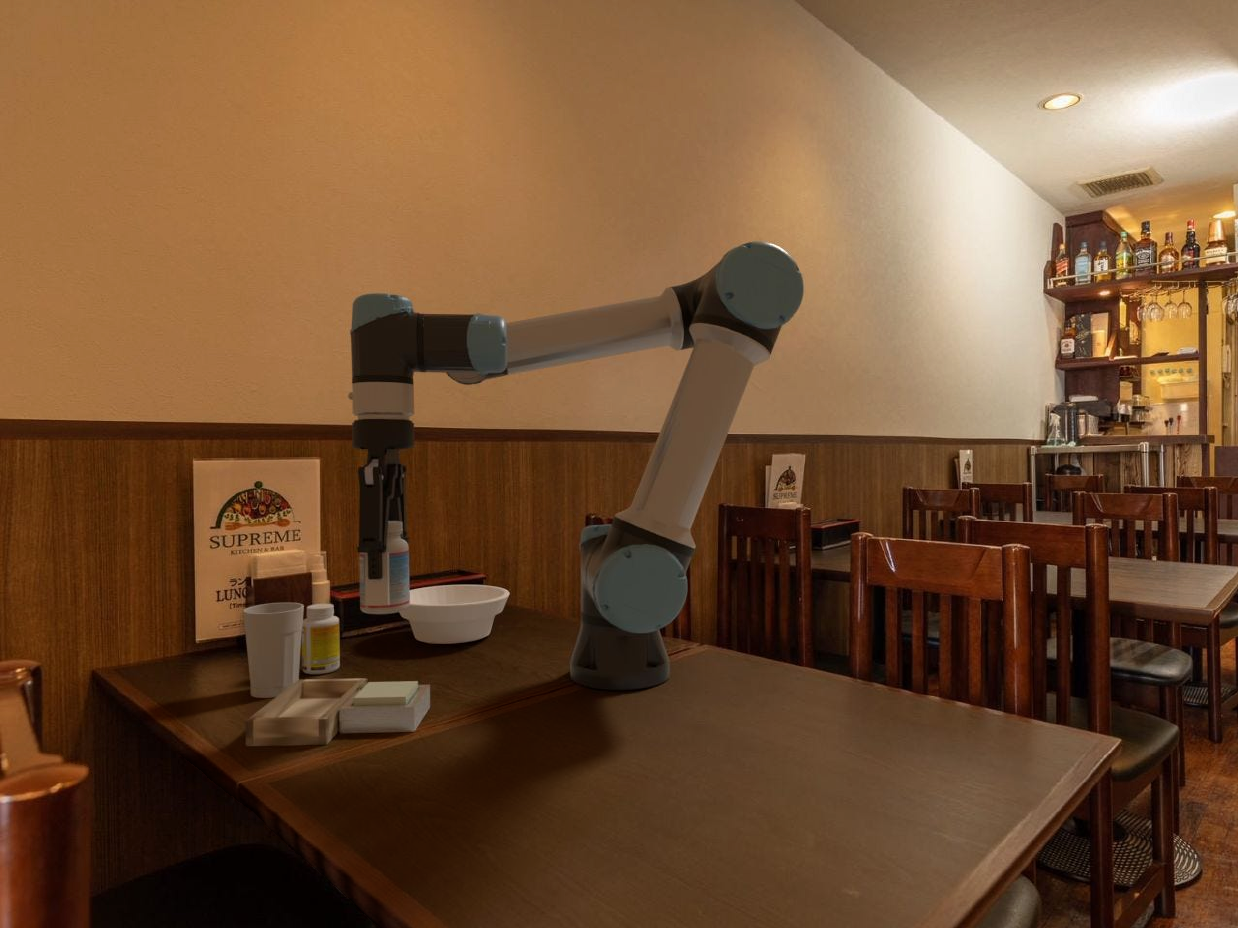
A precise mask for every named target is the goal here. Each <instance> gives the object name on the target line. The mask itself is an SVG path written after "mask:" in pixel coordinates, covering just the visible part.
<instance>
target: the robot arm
mask: <svg viewBox="0 0 1238 928" xmlns="http://www.w3.org/2000/svg"><path fill="white" fill-rule="evenodd" d="M803 278H804V277H803V274H802V272H801V270H800V268H799V266H798V264H797V262H796V261H795V259H794V258H793V257H792V255H790V254H789V253H788V252H787V251H786V250H785V249H783V248H782V247H780V246H778V245H776V244H774V243H771V242H767V241H761V240H757V241H748V242H745V243H742V244H739V245H738V246H735V247H733V248H732V249H730V250H728V251H727V252H726V253H724V255H723V256H722V258H721V259H720V260H719V261H718V263H716V264H715V265H714V266H713V267H711V268H710V270H708V271H707V272H706V273H704V274H703V275H701V276H700V277H698V278H696V279H694V280H691V281H689V282H685V283H682V284H679V285H674V286H669V287H668V286H667V287H666V288H665V289H664V290H663V291H662V293H661V294H660V295H658V296H657V295H656V296H652V297H646V298H640V299H634V300H629V301H623V302H619V303H618V302H617V303H611V304H605V305H601V306H595V307H589V308H585V309H578V310H573V311H567V312H562V313H557V314H556V313H555V314H549V315H545V316H540V317H539V316H538V317H533V318H528V319H527V318H526V319H523V320H515V321H512V322H507V321H506V319H505V318H503V317H502V316H501V315H491V314H490V315H489V314H488V315H487V314H483V313H478V312H477V313H476V314H474V313H473V314H470V313H468V314H464V313H461V314H460V313H459V314H458V313H455V314H454V313H451V314H450V313H448V314H447V313H420V312H416V311H415V309H414V304H413V302H412V300H411V299H410V298H408V297H407V296H404V295H399V294H392V293H391V294H389V293H383V292H382V293H378V292H376V293H373V292H372V293H366V294H361V295H360V296H358V297H356V298H355V299H354V300H353V302H352V309H351V311H352V312H351V316H352V317H351V329H350V331H349V333H350V343H351V346H350V347H351V348H350V349H351V386H352V387H351V389H352V391H351V392H349V393H348V395H347V396H348V397H347V398H348V399H349V400H350V401H352V402H351V403H352V414H353V415H354V416H356V417H357V419H355V420H353V422H352V424H351V431H352V433H351V435H352V436H351V437H352V438H351V439H352V447H353V448H354V449H355V450H367V458H366V462H365V463H366V464H364V466H359V467H358V469H357V475H358V483H359V484H358V485H359V507H358V509H359V513H358V516H359V519H358V520H359V522H358V525H359V526H358V546H357V547H356V549H357V553H358V554H359V553H365V591H366V606H378V605H389V604H390V600H389V552H386V549H387V546H386V544H387V531H388V521H401V522H402V523H403V531H402V534H401V539H403V540H405V541H406V542H407V543H408V545H409V544H410V537H408V527H407V526H408V524H407V521H408V520H407V519H408V518H407V490H406V489H407V488H406V483H407V482H406V480H407V479H406V478H407V471H408V470H407V466H406V464H405V465H404V464H402V463H400V462H401V460H400V454H399V452H400V450H411V449H413V448H414V447H415V423H414V422H413V420H410V417H413V416H414V415H415V390H414V388H415V386H414V383H415V382H414V374H415V373H443V374H444V373H445V374H446V375H447V377H449V378H450V379H452V380H453V381H454V382H456V383H458V384H461V385H465V386H470V385H477V384H480V383H483V382H485V381H487V380H491V379H496V378H501V377H505V376H509V375H510V376H511V375H516V374H520V373H525V372H532V371H536V370H537V371H538V370H541V369H542V370H543V369H547V368H553V367H559V366H565V365H569V364H575V363H580V362H585V361H592V360H596V359H601V358H602V359H603V358H607V357H613V356H618V355H624V354H630V353H634V352H639V351H645V350H650V349H656V348H663V347H670V348H672V349H673V350H675V351H683V350H688V349H692V351H691V353H690V355H689V358H688V360H687V363H686V366H685V368H684V371H683V373H682V375H681V378H680V381H679V383H678V386H677V389H676V391H675V394H674V395H673V399H672V401H671V404H670V406H669V409H668V411H667V414H666V416H665V419H664V422H663V424H662V427H661V429H660V430H659V431H660V432H659V434H658V437H657V439H656V442H655V444H654V447H653V449H652V452H651V454H650V457H649V459H648V462H647V465H646V466H645V470H644V471H643V475H642V477H641V480H640V483H639V484H638V487H637V490H636V493H635V495H634V497H633V500H632V501H631V502H632V503H631V505H630V506H629V507H628V508H627V509H624V510H623V511H620V512H617V513H615V515H614V518H613V520H612V523H610V524H609V523H608V524H595V525H594V524H593V525H587V526H586V527H585V526H584V528H583V529H582V530H581V533H580V542H579V546H578V547H579V550H580V613H581V615H580V616H581V617H580V618H581V619H580V620H581V621H580V628H579V632H578V636H577V639H576V641H575V645H574V649H573V651H572V655H571V658H570V662H569V665H570V666H569V669H570V670H569V671H570V673H569V674H570V675H569V677H570V679H571V681H573V682H575V683H576V684H578V685H581V686H584V687H588V688H592V689H599V690H607V691H608V690H609V691H610V690H611V691H612V690H613V691H625V690H626V691H627V690H628V691H629V690H639V689H647V688H650V687H654V686H657V685H660V684H662V683H664V682H666V681H667V680H668V679H669V678H670V676H671V675H670V672H671V671H670V659H669V656H668V653H667V650H666V646H665V644H664V640H663V637H662V634H661V631H660V630H661V629H663V628H664V627H666V626H668V625H669V624H671V622H673V621H674V620H675V619H676V618H677V616H678V615H679V614H680V612H681V611H682V609H683V607H684V605H685V603H686V600H687V596H688V578H687V571H688V568H689V565H690V562H691V560H692V557H693V554H694V553H695V549H696V543H695V540H694V539H693V536H692V533H691V531H692V530H691V529H692V526H693V524H694V522H695V518H696V515H697V514H698V511H699V508H700V506H701V503H702V500H703V497H704V495H705V493H706V492H707V491H706V490H707V488H708V485H709V482H710V480H711V477H712V474H713V472H714V470H715V467H716V464H717V463H718V460H719V457H720V454H721V452H722V449H723V446H724V444H725V441H726V439H727V437H728V435H729V431H730V429H731V426H732V423H733V422H734V419H735V416H736V413H737V412H738V409H739V406H740V403H741V401H742V398H743V396H744V394H745V390H746V388H747V385H748V382H749V380H750V377H751V375H752V372H753V370H754V368H755V366H757V365H760V364H761V363H763V362H766V361H768V360H769V359H770V357H771V355H772V352H773V349H774V347H775V344H776V342H777V339H778V337H779V334H780V332H781V329H782V327H783V326H784V325H785V324H787V323H789V322H790V321H791V320H792V318H793V317H794V316H795V314H796V313H797V312H798V310H799V308H800V307H801V304H802V302H803V297H804V293H805V292H804V290H805V287H804V285H805V284H804V280H803Z"/></svg>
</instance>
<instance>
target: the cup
mask: <svg viewBox="0 0 1238 928" xmlns="http://www.w3.org/2000/svg"><path fill="white" fill-rule="evenodd" d="M304 607H305V605H304V604H302V603H299V602H271V603H264V604H257V605H254V606H253V605H251V606H249V607H246V608H244V609H243V610H242V616H243V622H244V623H243V624H244V632H245V641H246V642H245V643H246V652H247V661H248V671H249V682H250V696H251V697H253V698H258V699H259V698H260V699H269V698H270V699H272V698H273V699H274V698H276V697H277V696H278V695H280V694H281V693H282V692H284V691H285V690H286V689H287V688H289V687H290V686H291V685H293V684H294V683H295V682H297V681H298V680H300V677H299V676H300V664H301V663H300V662H301V661H300V660H301V648H302V624H303V620H304V611H305V610H304V609H305V608H304Z"/></svg>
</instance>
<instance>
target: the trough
mask: <svg viewBox="0 0 1238 928" xmlns="http://www.w3.org/2000/svg"><path fill="white" fill-rule="evenodd" d="M364 683H368V678H367V677H363V678H359V677H357V678H356V677H355V678H314V679H313V678H311V679H309V678H308V679H307V678H306V679H299V680H298V681H297V682H295V683H294V684H293V685H291V686H290V687H289V688H287V689H286V690H285V691H284V692H282V693H281V694H280V695H278V696H277V697H273V699H272V700H271V701H268V703H267V704H266V705H263V707H262V708H259V710H257V711H256V712H255V713H253V714H252V715H251V716H250V717H248V718H247V719H246V720H244V721H245V747H280V746H283V747H284V746H319V745H321V746H322V745H323V746H324V745H325V746H326V745H328V744H329V742H331V740H332V739H334V737H335V736H336V735H337V734H338V732H339V733H340V716H339V709H340V708H341V707H342V706H343V705H344V704H345V703H346V702H347V701H348V700H349V699H350V698H351V697H352V696H353V695H354V694H355V693H356V692H357V691H358V690H359V689H360V688H359V685H360V684H364Z"/></svg>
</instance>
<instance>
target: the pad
mask: <svg viewBox="0 0 1238 928" xmlns="http://www.w3.org/2000/svg"><path fill="white" fill-rule="evenodd" d="M367 683H368V684H367V685H366V686H365V687H364V688H363V689H362V690H361V691H360V692H359V693H358V694H357V695H356V696H355V697H354V706H370V705H407V704H408V703H409V702H410V700H411V699H412V698H413V696H414V695H415V693H416V692H417V691H418V685H419V681H418V680H414V681H412V680H411V681H410V680H409V681H406V680H405V681H368V682H367Z"/></svg>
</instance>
